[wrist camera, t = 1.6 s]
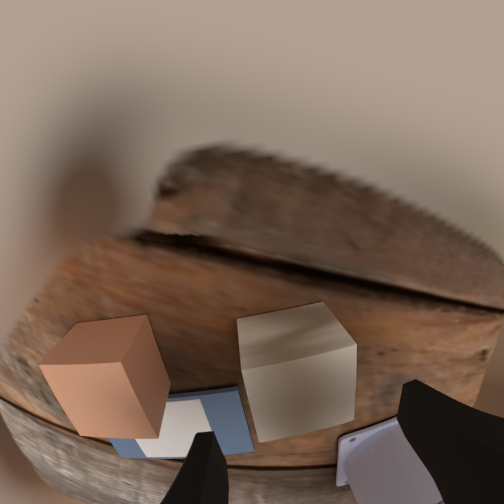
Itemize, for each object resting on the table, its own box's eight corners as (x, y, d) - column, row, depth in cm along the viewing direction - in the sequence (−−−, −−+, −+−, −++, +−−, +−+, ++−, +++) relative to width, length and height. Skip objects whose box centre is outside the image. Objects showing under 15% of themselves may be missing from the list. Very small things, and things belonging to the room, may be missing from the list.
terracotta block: (146, 314, 14) (120, 362, 10) (170, 383, 15) (158, 438, 11) (76, 322, 14) (38, 364, 10) (104, 386, 15) (80, 435, 11)
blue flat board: (237, 386, 15) (237, 391, 15) (254, 447, 17) (254, 451, 16) (86, 396, 15) (84, 400, 15) (122, 453, 16) (121, 457, 16)
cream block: (322, 301, 15) (356, 344, 10) (327, 369, 16) (353, 420, 12) (236, 318, 15) (241, 370, 10) (251, 385, 16) (259, 442, 11)
